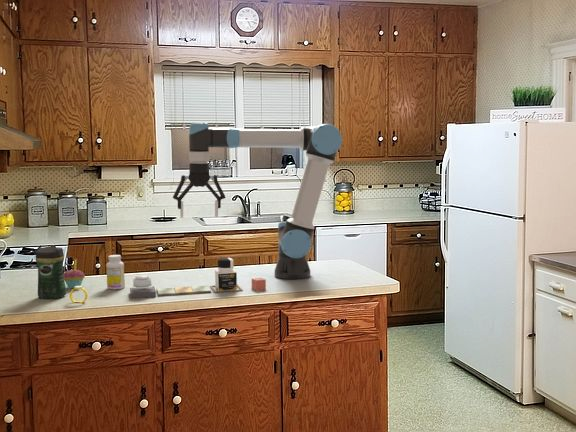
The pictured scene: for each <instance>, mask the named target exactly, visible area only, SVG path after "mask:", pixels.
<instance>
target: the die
mask: <svg viewBox="0 0 576 432" xmlns="http://www.w3.org/2000/svg"><path fill="white" fill-rule="evenodd" d="M266 281H267V279H265V278H263V277H253V278H251V289H252V290H254V291H264V290H265V291H266V290H267V284H266Z"/></svg>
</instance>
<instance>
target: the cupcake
mask: <svg viewBox="0 0 576 432" xmlns="http://www.w3.org/2000/svg"><path fill="white" fill-rule="evenodd" d="M77 261H78V260H77V259H74V266H73V267H74V269H68V270H67V271H63V274H64V281H65V285H66V288H68V289H69V288H74V287H75V286H82V283H83V281H84V279H85V277H86V276H85V273H84V272H83V271H82V270H80V269H77Z"/></svg>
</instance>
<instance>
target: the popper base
mask: <svg viewBox="0 0 576 432" xmlns="http://www.w3.org/2000/svg"><path fill="white" fill-rule="evenodd" d="M129 294H130V295H129V296H130V299H132V300H133V299H143V298H144V299H145V298H156V297H157V290H156V288H155V286H149V287H129Z"/></svg>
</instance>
